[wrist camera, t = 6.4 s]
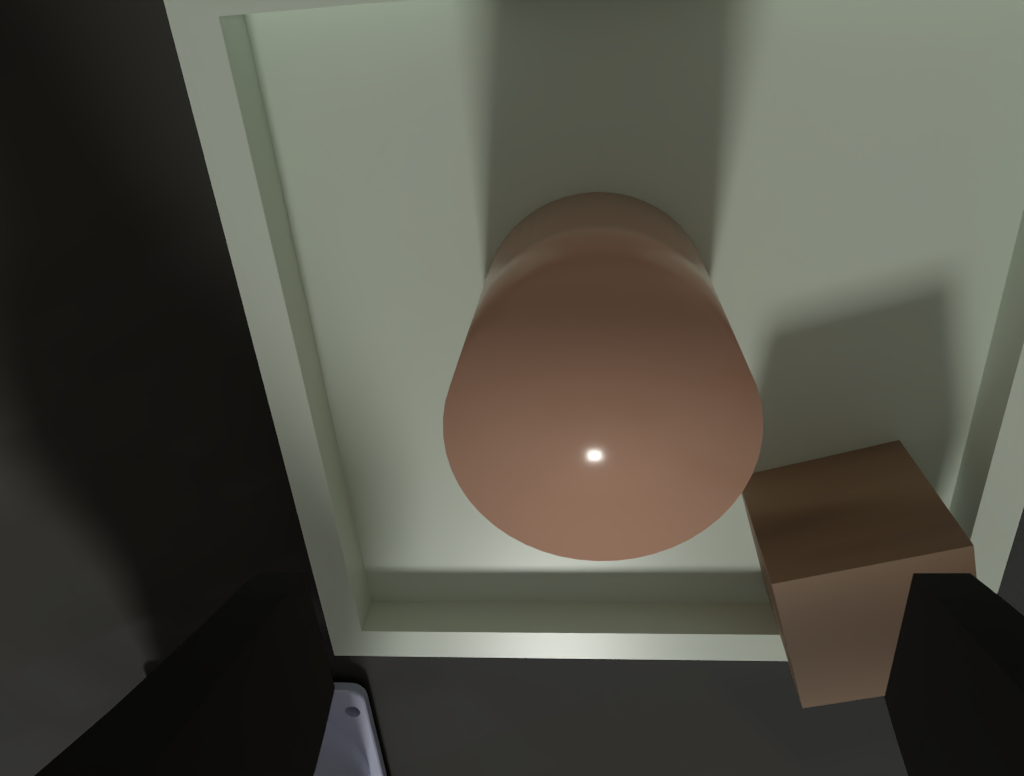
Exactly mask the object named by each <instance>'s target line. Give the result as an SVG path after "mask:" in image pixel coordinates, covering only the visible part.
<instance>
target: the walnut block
mask: <svg viewBox="0 0 1024 776" xmlns="http://www.w3.org/2000/svg"><path fill="white" fill-rule="evenodd" d="M742 497H743V501H744V505H745V509H746V513H747V517H748V521H749V525H750V529H751V533H752V537H753V540H754V544H755V548H756V552H757V556H758V560H759V564H760V568H761V572H762V576H763V580H764V584H765V588H766V591H767V594H768V598H769V601H770V604H771V607H772V611H773V614H774V617H775V620H776V624H777V627H778V630H779V633H780V637H781V640H782V643H783V646H784V650H785V653H786V656H787V659H788V663H789V666H790V669H791V672H792V676H793V679H794V682H795V685H796V689H797V692H798V695H799V698H800V702H801V705H802V708H807V707H814V706H820V705H827V704H833V703H840V702H846V701H853V700H859V699H866V698H872V697H879V696H885V693H886V689H887V684H888V680H889V676H890V671H891V667H892V663H893V659H894V654H895V650H896V646H897V641H898V637H899V633H900V628H901V624H902V620H903V616H904V611H905V607H906V603H907V598H908V594H909V590H910V585H911V581H912V577H913V573H971V574H972V575H973V576H974V577H976V578H977V576H976V564H975V553H974V545H973V544H972V542H971V541H970V539H969V538H968V537H967V535H966V534H965V532H964V531H963V529H962V528H961V527H960V525H959V524H958V522H957V521H956V520H955V518H954V517H953V515H952V514H951V513H950V511H949V510H948V508H947V507H946V505H945V504H944V503H943V501H942V500H941V498H940V497H939V496H938V494H937V493H936V491H935V490H934V488H933V487H932V486H931V484H930V483H929V481H928V480H927V479H926V477H925V476H924V474H923V473H922V471H921V470H920V469H919V467H918V466H917V464H916V463H915V462H914V460H913V459H912V457H911V456H910V454H909V453H908V452H907V450H906V449H905V447H904V446H903V445H902V443H901V442H900V440H897V441H893V442H888V443H884V444H879V445H875V446H871V447H866V448H862V449H857V450H853V451H848V452H844V453H840V454H835V455H831V456H826V457H822V458H817V459H813V460H808V461H804V462H800V463H795V464H791V465H786V466H782V467H777V468H773V469H769V470H764V471H760V472H755V473H753V474H752V476H751V478H750V480H749V481H748V483H747V485H746V487H745V488H744V490H743V492H742Z"/></svg>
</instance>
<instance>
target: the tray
mask: <svg viewBox="0 0 1024 776" xmlns="http://www.w3.org/2000/svg"><path fill="white" fill-rule="evenodd" d="M164 4H165V8H166V12H167V15H168V19H169V23H170V27H171V31H172V35H173V38H174V42H175V46H176V50H177V54H178V58H179V61H180V65H181V69H182V73H183V77H184V81H185V84H186V88H187V92H188V96H189V100H190V104H191V107H192V111H193V115H194V119H195V123H196V127H197V130H198V134H199V138H200V142H201V146H202V150H203V153H204V157H205V161H206V165H207V169H208V173H209V176H210V180H211V184H212V188H213V192H214V196H215V199H216V203H217V207H218V211H219V215H220V219H221V222H222V226H223V230H224V234H225V238H226V242H227V245H228V249H229V253H230V257H231V261H232V265H233V268H234V272H235V276H236V280H237V284H238V288H239V291H240V295H241V299H242V303H243V307H244V311H245V314H246V318H247V322H248V326H249V330H250V334H251V337H252V341H253V345H254V349H255V353H256V357H257V360H258V364H259V368H260V372H261V376H262V380H263V383H264V387H265V391H266V395H267V399H268V403H269V406H270V410H271V414H272V418H273V422H274V426H275V429H276V433H277V437H278V441H279V445H280V449H281V452H282V456H283V460H284V464H285V468H286V472H287V475H288V479H289V483H290V487H291V491H292V495H293V498H294V502H295V506H296V510H297V514H298V518H299V521H300V525H301V529H302V533H303V537H304V541H305V544H306V548H307V552H308V556H309V560H310V564H311V567H312V571H313V575H314V579H315V583H316V587H317V590H318V594H319V598H320V602H321V606H322V610H323V613H324V617H325V621H326V625H327V629H328V633H329V636H330V640H331V644H332V648H333V652H334V656H412V657H495V658H577V659H660V660H742V661H788V659H787V656H786V653H785V650H784V646H783V643H782V640H781V637H780V633H779V630H778V627H777V624H776V620H775V617H774V614H773V611H772V607H771V604H770V601H769V598H768V594H767V591H766V588H765V584H764V580H763V576H762V572H761V568H760V564H759V560H758V556H757V552H756V548H755V544H754V540H753V537H752V533H751V529H750V525H749V521H748V517H747V513H746V509H745V505H744V501H743V497H742V493H741V494H740V496H739V497H738V498H737V500H736V501H735V502H734V504H733V505H732V506H731V507H730V508H729V509H728V510H727V511H726V512H725V513H724V514H723V515H722V516H721V517H720V518H719V519H718V520H717V521H715V522H714V523H713V524H712V525H710V526H709V527H708V528H707V529H705V530H704V531H702V532H701V533H699V534H697V535H696V536H694V537H693V538H691V539H689V540H687V541H685V542H683V543H681V544H679V545H677V546H675V547H672V548H670V549H667V550H664V551H661V552H658V553H655V554H652V555H647V556H643V557H639V558H634V559H626V560H618V561H589V560H577V559H572V558H566V557H561V556H557V555H553V554H550V553H547V552H543V551H540V550H538V549H535V548H533V547H530V546H528V545H525V544H523V543H522V542H520V541H518V540H516V539H514V538H512V537H510V536H509V535H507V534H506V533H504V532H503V531H501V530H500V529H499V528H497V527H496V526H494V525H493V524H492V523H491V522H490V521H489V520H487V519H486V518H485V517H484V516H483V515H482V514H481V513H480V512H479V511H478V510H477V509H476V508H475V507H474V505H473V504H472V503H471V502H470V501H469V500H468V498H467V497H466V495H465V494H464V492H463V491H462V489H461V488H460V486H459V484H458V482H457V480H456V478H455V476H454V474H453V472H452V470H451V467H450V464H449V461H448V458H447V455H446V450H445V444H444V439H443V414H444V407H445V401H446V397H447V394H448V390H449V387H450V384H451V381H452V378H453V375H454V372H455V369H456V366H457V363H458V360H459V357H460V354H461V351H462V348H463V345H464V342H465V339H466V336H467V333H468V330H469V327H470V324H471V322H472V319H473V316H474V313H475V310H476V307H477V304H478V301H479V298H480V295H481V292H482V289H483V286H484V283H485V280H486V277H487V274H488V271H489V268H490V265H491V263H492V260H493V258H494V256H495V254H496V252H497V250H498V248H499V247H500V245H501V243H502V242H503V240H504V239H505V238H506V236H507V235H508V234H509V233H510V232H511V230H512V229H513V228H514V227H515V226H516V225H517V224H518V223H519V222H520V221H522V220H523V219H524V218H525V217H526V216H528V215H529V214H531V213H532V212H533V211H535V210H536V209H538V208H540V207H542V206H544V205H546V204H548V203H550V202H552V201H555V200H557V199H560V198H563V197H566V196H571V195H575V194H580V193H590V192H608V193H616V194H622V195H627V196H631V197H634V198H637V199H640V200H643V201H645V202H647V203H649V204H651V205H653V206H655V207H657V208H658V209H660V210H661V211H663V212H664V213H666V214H667V215H669V216H670V217H671V218H672V219H673V220H674V221H676V222H677V223H678V224H679V225H680V226H681V227H682V229H683V230H684V231H685V232H686V233H687V234H688V236H689V237H690V239H691V240H692V242H693V243H694V245H695V247H696V248H697V250H698V253H699V255H700V257H701V260H702V262H703V264H704V266H705V269H706V271H707V273H708V275H709V278H710V280H711V282H712V285H713V287H714V289H715V291H716V294H717V296H718V298H719V301H720V303H721V305H722V307H723V310H724V312H725V314H726V317H727V319H728V321H729V323H730V326H731V328H732V330H733V333H734V335H735V337H736V339H737V342H738V344H739V346H740V349H741V351H742V353H743V355H744V358H745V360H746V362H747V365H748V367H749V369H750V371H751V374H752V376H753V378H754V381H755V383H756V385H757V388H758V392H759V396H760V400H761V404H762V413H763V438H762V444H761V449H760V453H759V458H758V461H757V463H756V466H755V469H754V471H753V473H755V472H760V471H764V470H769V469H773V468H777V467H782V466H786V465H791V464H795V463H800V462H804V461H808V460H813V459H817V458H822V457H826V456H831V455H835V454H840V453H844V452H848V451H853V450H857V449H862V448H866V447H871V446H875V445H879V444H884V443H888V442H893V441H897V440H900V442H901V443H902V445H903V446H904V447H905V449H906V450H907V452H908V453H909V454H910V456H911V457H912V459H913V460H914V462H915V463H916V464H917V466H918V467H919V469H920V470H921V471H922V473H923V474H924V476H925V477H926V479H927V480H928V481H929V483H930V484H931V486H932V487H933V488H934V490H935V491H936V493H937V494H938V496H939V497H940V498H941V500H942V501H943V503H944V504H945V505H946V507H947V508H948V510H949V511H950V513H951V514H952V515H953V517H954V518H955V520H956V521H957V522H958V524H959V525H960V527H961V528H962V529H963V531H964V532H965V534H966V535H967V537H968V538H969V539H970V541H971V542H972V544H973V545H974V553H975V564H976V576H977V579H978V580H980V581H981V582H982V583H983V584H985V585H986V586H987V587H989V588H990V589H991V590H992V591H994V592H995V593H996V594H997V593H998V590H999V586H1000V583H1001V580H1002V576H1003V573H1004V570H1005V567H1006V563H1007V560H1008V557H1009V553H1010V550H1011V547H1012V544H1013V540H1014V537H1015V534H1016V530H1017V527H1018V524H1019V521H1020V517H1021V514H1022V511H1023V508H1024V0H164Z"/></svg>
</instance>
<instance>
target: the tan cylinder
mask: <svg viewBox="0 0 1024 776" xmlns="http://www.w3.org/2000/svg"><path fill="white" fill-rule="evenodd" d="M762 438H763V413H762V404H761V400H760V396H759V392H758V388H757V385H756V383H755V381H754V378H753V376H752V374H751V371H750V369H749V367H748V365H747V362H746V360H745V358H744V355H743V353H742V351H741V349H740V346H739V344H738V342H737V339H736V337H735V335H734V333H733V330H732V328H731V326H730V323H729V321H728V319H727V317H726V314H725V312H724V310H723V307H722V305H721V303H720V301H719V298H718V296H717V294H716V291H715V289H714V287H713V285H712V282H711V280H710V278H709V275H708V273H707V271H706V269H705V266H704V264H703V262H702V260H701V257H700V255H699V253H698V250H697V248H696V247H695V245H694V243H693V242H692V240H691V239H690V237H689V236H688V234H687V233H686V232H685V231H684V230H683V229H682V227H681V226H680V225H679V224H678V223H677V222H676V221H674V220H673V219H672V218H671V217H670V216H669V215H667V214H666V213H664V212H663V211H661V210H660V209H658V208H657V207H655V206H653V205H651V204H649V203H647V202H645V201H643V200H640V199H637V198H634V197H631V196H627V195H622V194H616V193H608V192H590V193H580V194H575V195H571V196H566V197H563V198H560V199H557V200H555V201H552V202H550V203H548V204H546V205H544V206H542V207H540V208H538V209H536V210H535V211H533V212H532V213H531V214H529V215H528V216H526V217H525V218H524V219H523V220H522V221H520V222H519V223H518V224H517V225H516V226H515V227H514V228H513V229H512V230H511V232H510V233H509V234H508V235H507V236H506V238H505V239H504V240H503V242H502V243H501V245H500V247H499V248H498V250H497V252H496V254H495V256H494V258H493V260H492V263H491V265H490V268H489V271H488V274H487V277H486V280H485V283H484V286H483V289H482V292H481V295H480V298H479V301H478V304H477V307H476V310H475V313H474V316H473V319H472V322H471V324H470V327H469V330H468V333H467V336H466V339H465V342H464V345H463V348H462V351H461V354H460V357H459V360H458V363H457V366H456V369H455V372H454V375H453V378H452V381H451V384H450V387H449V390H448V394H447V397H446V401H445V407H444V414H443V439H444V444H445V450H446V455H447V458H448V461H449V464H450V467H451V470H452V472H453V474H454V476H455V478H456V480H457V482H458V484H459V486H460V488H461V489H462V491H463V492H464V494H465V495H466V497H467V498H468V500H469V501H470V502H471V503H472V504H473V505H474V507H475V508H476V509H477V510H478V511H479V512H480V513H481V514H482V515H483V516H484V517H485V518H486V519H487V520H489V521H490V522H491V523H492V524H493V525H494V526H496V527H497V528H499V529H500V530H501V531H503V532H504V533H506V534H507V535H509V536H510V537H512V538H514V539H516V540H518V541H520V542H522V543H523V544H525V545H528V546H530V547H533V548H535V549H538V550H540V551H543V552H547V553H550V554H553V555H557V556H561V557H566V558H572V559H577V560H589V561H618V560H626V559H634V558H639V557H643V556H647V555H652V554H655V553H658V552H661V551H664V550H667V549H670V548H672V547H675V546H677V545H679V544H681V543H683V542H685V541H687V540H689V539H691V538H693V537H694V536H696V535H697V534H699V533H701V532H702V531H704V530H705V529H707V528H708V527H709V526H710V525H712V524H713V523H714V522H715V521H717V520H718V519H719V518H720V517H721V516H722V515H723V514H724V513H725V512H726V511H727V510H728V509H729V508H730V507H731V506H732V505H733V504H734V502H735V501H736V500H737V498H738V497H739V496H740V494H741V493H742V492H743V490H744V488H745V487H746V485H747V483H748V481H749V480H750V478H751V476H752V474H753V471H754V469H755V466H756V463H757V461H758V458H759V453H760V449H761V444H762Z"/></svg>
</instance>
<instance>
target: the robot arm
mask: <svg viewBox="0 0 1024 776" xmlns="http://www.w3.org/2000/svg"><path fill="white" fill-rule="evenodd" d="M884 698H885V701H886V704H887V708H888V711H889V714H890V718H891V721H892V725H893V728H894V731H895V735H896V738H897V741H898V745H899V748H900V751H901V754H902V757H903V760H904V764H905V767H906V770H907V773H908V776H1024V616H1023V615H1022V614H1021V613H1019V612H1018V611H1017V610H1016V609H1014V608H1013V607H1012V606H1011V605H1010V604H1008V603H1007V602H1006V601H1005V600H1003V599H1002V598H1001V597H1000V596H998V595H997V594H996V593H995V592H994V591H992V590H991V589H990V588H989V587H987V586H986V585H985V584H983V583H982V582H981V581H980V580H978V579H977V578H976V577H974V576H973V575H972V574H971V573H913V577H912V581H911V585H910V590H909V594H908V598H907V603H906V607H905V611H904V616H903V620H902V624H901V628H900V633H899V637H898V641H897V646H896V650H895V654H894V659H893V663H892V667H891V671H890V676H889V680H888V684H887V689H886V693H885V697H884ZM35 776H387V774H386V770H385V765H384V761H383V757H382V753H381V749H380V745H379V740H378V736H377V732H376V728H375V724H374V720H373V715H372V711H371V707H370V703H369V699H368V695H367V692H366V690H365V689H364V688H363V687H362V686H361V685H358V684H356V683H342V682H333V678H332V674H331V671H330V667H329V663H328V659H327V655H326V652H325V648H324V644H323V640H322V637H321V633H320V629H319V625H318V621H317V618H316V614H315V610H314V606H313V603H312V599H311V595H310V591H309V588H308V584H307V580H306V576H305V573H257V574H256V575H255V576H254V577H253V578H252V579H251V580H249V581H248V582H247V583H246V584H245V585H244V586H243V587H242V588H241V589H240V590H238V591H237V592H236V593H235V594H234V595H233V596H232V597H231V598H230V599H229V600H228V601H227V602H226V603H225V604H224V605H223V606H221V607H220V608H219V609H218V610H217V611H216V612H215V613H214V614H213V615H212V616H211V617H210V618H209V619H208V620H207V621H206V622H205V623H204V624H203V625H202V626H200V627H199V628H198V629H197V630H196V631H195V632H194V633H193V634H192V635H191V636H190V637H189V638H188V639H187V640H186V641H185V642H184V643H183V644H182V645H180V646H179V647H178V648H177V649H176V650H175V651H174V652H173V653H172V654H171V655H170V656H169V657H168V658H167V659H166V660H164V661H163V662H162V663H161V664H160V665H159V666H158V667H157V668H156V669H155V670H154V671H153V672H151V673H150V674H149V675H148V676H147V677H146V678H145V679H144V680H143V681H142V682H141V683H140V684H139V685H137V686H136V687H135V688H134V689H133V690H132V691H131V692H130V693H129V694H128V695H127V696H126V697H124V698H123V699H122V700H121V701H120V702H119V703H118V704H117V705H116V706H115V707H114V708H112V709H111V710H110V711H109V712H108V713H107V714H106V715H105V716H103V717H102V718H101V719H100V720H99V721H98V722H96V723H95V724H94V725H93V726H92V727H91V728H89V729H88V730H87V731H86V732H85V733H84V734H82V735H81V736H80V737H79V738H78V739H77V740H76V741H74V742H73V743H72V744H71V745H70V746H69V747H67V748H66V749H65V750H64V751H63V752H62V753H60V754H59V755H58V756H57V757H56V758H55V759H53V760H52V761H51V762H50V763H49V764H48V765H47V766H45V767H44V768H43V769H42V770H41V771H40V772H38V773H37V774H36V775H35Z"/></svg>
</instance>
